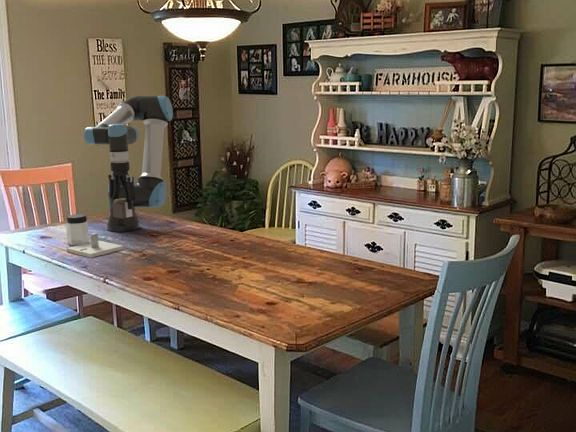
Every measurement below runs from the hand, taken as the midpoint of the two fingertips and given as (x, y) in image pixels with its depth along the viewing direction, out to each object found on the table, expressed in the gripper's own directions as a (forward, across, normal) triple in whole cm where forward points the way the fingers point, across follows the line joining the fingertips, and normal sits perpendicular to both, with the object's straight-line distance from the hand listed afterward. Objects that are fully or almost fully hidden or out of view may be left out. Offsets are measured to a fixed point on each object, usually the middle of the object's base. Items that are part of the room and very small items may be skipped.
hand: (123, 215), depth 276 cm
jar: (+13, -20, -10) cm, 25 cm away
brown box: (0, 0, 0) cm, 0 cm away
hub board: (+13, -3, -14) cm, 19 cm away
